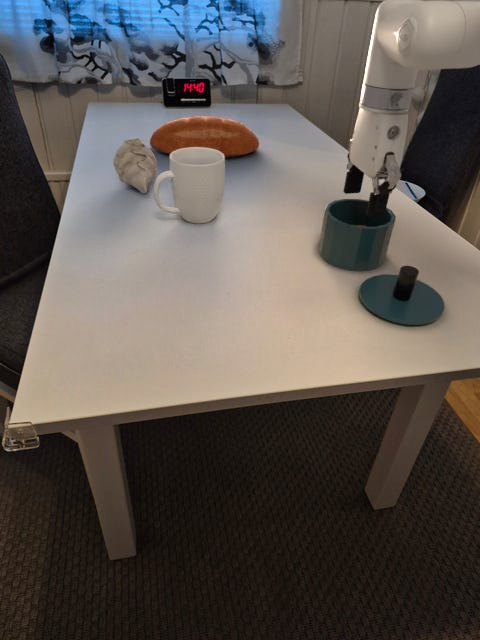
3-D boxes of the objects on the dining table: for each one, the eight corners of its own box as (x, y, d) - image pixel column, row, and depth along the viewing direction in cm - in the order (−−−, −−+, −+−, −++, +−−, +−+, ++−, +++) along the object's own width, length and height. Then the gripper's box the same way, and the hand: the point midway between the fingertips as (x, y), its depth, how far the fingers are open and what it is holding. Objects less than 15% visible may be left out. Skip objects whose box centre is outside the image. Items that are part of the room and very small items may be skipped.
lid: (442, 290, 77) (454, 258, 73) (442, 336, 67) (456, 303, 63) (364, 273, 80) (371, 242, 76) (352, 315, 70) (360, 282, 66)
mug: (165, 236, 88) (160, 170, 80) (148, 213, 96) (142, 152, 88) (232, 223, 94) (234, 161, 86) (212, 203, 101) (211, 144, 93)
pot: (387, 245, 88) (398, 205, 83) (380, 277, 79) (392, 234, 74) (325, 234, 92) (332, 194, 86) (312, 262, 82) (319, 220, 77)
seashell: (164, 174, 114) (161, 134, 108) (152, 198, 102) (148, 154, 96) (124, 172, 114) (119, 132, 108) (108, 195, 103) (101, 151, 96)
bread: (264, 162, 124) (266, 129, 119) (148, 162, 121) (145, 128, 115) (253, 138, 142) (255, 108, 136) (152, 137, 138) (149, 106, 133)
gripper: (438, 111, 62) (406, 223, 73) (382, 86, 76) (361, 184, 86) (389, 112, 61) (363, 226, 72) (341, 86, 74) (325, 186, 85)
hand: (362, 203), depth 79 cm, fingers open, 9 cm apart
